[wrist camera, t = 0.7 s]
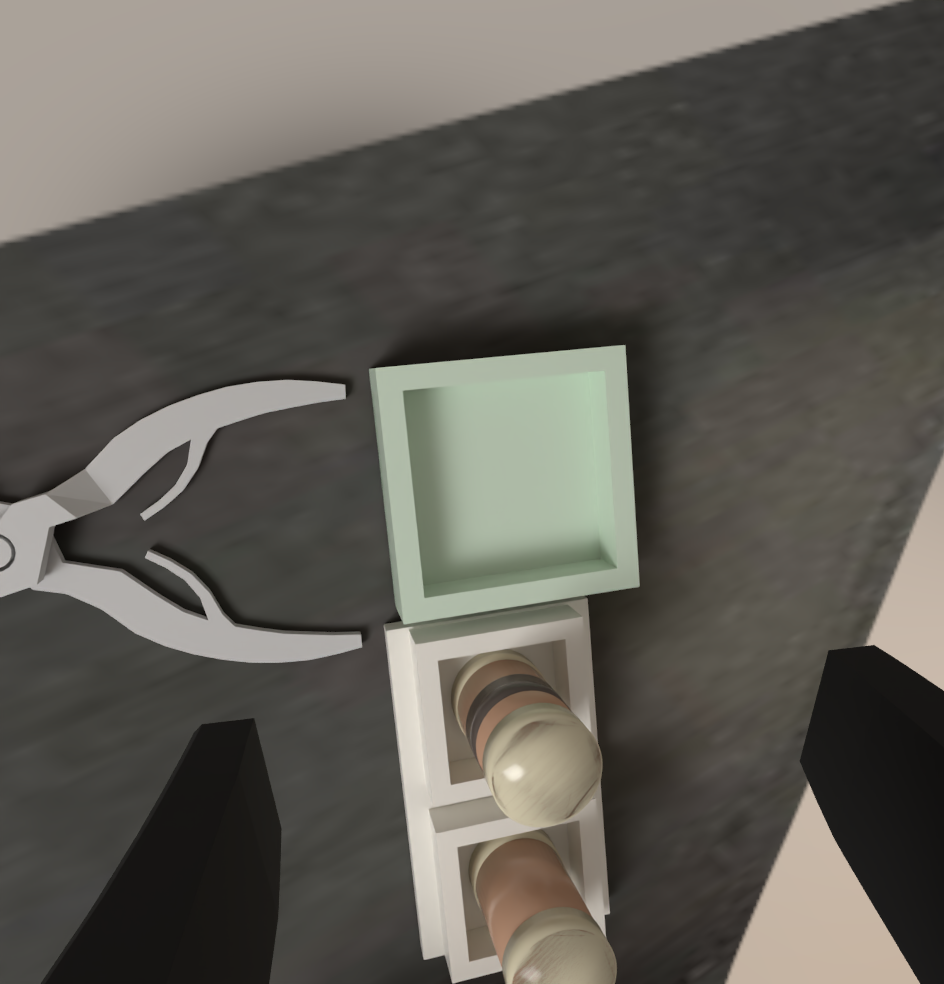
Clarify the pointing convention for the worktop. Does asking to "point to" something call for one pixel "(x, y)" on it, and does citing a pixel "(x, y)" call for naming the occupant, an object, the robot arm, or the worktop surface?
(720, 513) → the worktop surface
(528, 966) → the fuse
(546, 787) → the cylinder
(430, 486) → the tray
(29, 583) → the pliers
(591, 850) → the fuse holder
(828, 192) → the worktop surface
